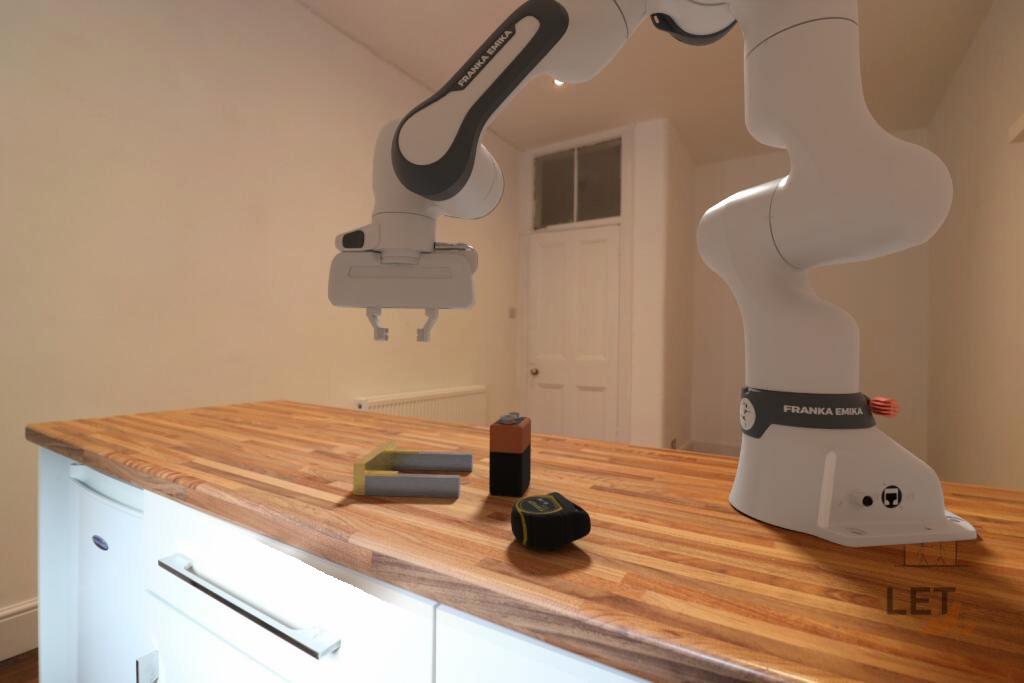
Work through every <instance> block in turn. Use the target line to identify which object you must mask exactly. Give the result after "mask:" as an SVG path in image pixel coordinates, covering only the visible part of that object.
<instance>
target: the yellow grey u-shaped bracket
mask: <svg viewBox="0 0 1024 683" xmlns="http://www.w3.org/2000/svg"><path fill="white" fill-rule="evenodd" d="M401 470H402V471H403V470H404V471H405V470H406V471H434V472H435V471H437V472H438V471H442V472H443V471H445V472H473V470H474V452H451V451H422V449H414V448H413V449H407V448H406V449H403V448H397V441H394V440H393V441H392V440H390V441H389V440H386V441H384V442H383V443H382V444H379V446H377V447H376V448H374V449H373V450H371V451H370V452H368V453H367V454H365V455H364V456H362V457H361V458H359V459H357V461H355V462H353V470H352V471H353V472H352V474H353V478H352V479H353V481H352V482H353V484H352V486H353V487H352V491H353V492H352V494H353V496H376V497H377V496H378V497H379V496H381V497H407V498H409V497H411V498H412V497H416V498H443V499H444V498H447V499H448V498H449V499H459V497H460V496H461V475H460V474H433V473H431V474H430V473H429V474H425V473H423V474H422V473H400V472H399V471H401Z"/></svg>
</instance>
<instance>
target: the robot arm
mask: <svg viewBox="0 0 1024 683" xmlns="http://www.w3.org/2000/svg"><path fill="white" fill-rule="evenodd" d="M649 16H650V19H651V22H652V25H653V26H654V27H655V29H657V30H659V31H662V32H665V33H668V34H669V36H671V37H672V38H674V39H675V40H677V41H678V42H680V43H683V44H686V45H689V46H695V47H703V46H708V45H711V44H714V43H716V42H718V41H720V40H721V39H723V38H724V37H725V36H726V35H727V34H728V33H729V32H730V31H731V30H733V28H735V25H736V24H738V26H739V27H740V29H741V34H742V38H743V40H744V42H743V43H744V45H743V82H744V85H743V87H744V88H743V90H744V124H745V127H746V130H747V131H748V133H749V134H750V136H752V138H753V139H754V140H755V141H757V142H759V144H762V145H765V146H768V147H771V148H777V149H783V150H787V153H788V155H789V160H790V171H789V174H787V175H786V176H782V177H780V178H777V179H774V180H771V181H767V182H764V183H761V184H759V185H755V186H752V187H749V188H747V189H743V190H740V191H737V192H735V193H734V194H732V195H730V196H728V197H727V198H725V199H723V200H722V201H720V202H719V203H717V204H715V205H713V206H712V207H710V208H708V209H707V210H706V211H705V212H704V214H702V217H701V219H700V221H699V223H698V226H697V232H696V245H697V250H698V253H699V255H700V257H701V259H702V261H703V263H704V264H705V265H706V266H707V267H708V269H710V270H711V271H713V273H715V274H717V275H718V276H719V277H720V278H721V279H722V280H724V282H725V283H726V284H727V286H728V288H729V289H730V291H731V293H732V295H733V297H734V298H735V302H737V305H738V309H739V313H740V315H741V320H742V325H743V332H744V333H743V336H744V356H745V358H744V359H745V360H744V361H745V362H744V364H745V365H744V366H745V382H744V383H745V384H744V385H742V387H741V392H740V406H739V419H740V431H741V433H742V436H741V437H742V438H741V445H740V446H741V447H740V453H739V454H740V455H739V459H738V463H737V464H738V465H737V470H736V473H735V478H734V481H733V485H732V487H731V491H730V492H729V496H728V501H729V503H730V504H731V505H732V506H733V507H734V508H736V510H738V511H740V512H741V513H743V514H746V515H747V516H749V517H752V518H754V519H756V520H759V521H761V522H764V523H767V524H770V525H773V526H776V527H780V528H782V529H783V528H784V529H787V530H791V531H796V532H799V533H804V534H808V535H811V536H815V537H818V538H820V539H824V540H825V541H829V542H831V543H835V544H838V545H841V546H845V547H849V548H863V547H864V548H866V547H877V546H879V547H881V546H893V545H909V544H910V545H911V544H922V543H923V544H926V543H940V542H954V541H955V542H956V541H969V540H976V539H978V536H977V530H976V529H975V527H974V525H972V524H971V523H970V522H969V521H967V520H966V519H964V518H962V517H960V516H958V515H957V514H954V513H953V512H951V511H949V510H947V509H946V508H945V500H944V492H943V488H942V484H941V481H940V479H939V477H938V475H937V473H936V471H935V470H934V469H933V468H932V467H931V466H929V464H927V463H926V462H925V461H923V460H922V459H920V458H919V457H917V456H916V455H915V454H914V453H912V452H911V451H909V450H908V449H906V448H905V447H903V446H902V445H901V444H900V443H898V442H897V441H895V440H894V439H892V438H891V437H890V436H889V435H887V434H886V433H885V432H883V431H882V430H881V429H879V428H878V427H877V422H876V419H875V417H874V415H876V416H882V417H885V418H887V419H893V418H896V417H898V414H901V411H900V410H901V409H902V407H900V406H901V403H897V402H899V401H898V400H897V399H894V398H885V397H882V396H876V397H873V398H870V397H868V396H867V395H866V394H864V393H862V392H861V391H860V346H861V345H860V338H861V337H860V334H861V331H860V328H859V326H858V323H857V322H856V320H855V319H854V318H853V316H852V315H851V313H849V312H848V311H847V310H845V309H843V308H841V307H840V306H838V305H836V304H835V303H831V302H830V301H827V300H824V299H822V298H819V296H818V295H817V294H816V293H815V291H814V290H813V287H812V284H811V282H810V274H809V272H810V271H809V270H810V269H813V268H820V267H829V266H834V265H843V264H849V263H850V264H851V263H857V262H865V261H871V260H874V259H878V258H881V257H885V256H888V255H892V254H896V253H898V252H901V251H905V250H907V249H910V248H913V247H916V246H919V245H922V244H924V243H926V242H928V241H929V240H930V239H931V238H932V237H933V236H934V235H935V234H936V233H937V232H938V230H940V228H941V227H942V226H943V224H944V222H945V221H946V219H947V217H948V215H949V212H950V211H951V207H952V203H953V196H954V184H953V179H952V177H951V173H950V171H949V169H948V168H947V166H946V164H945V163H944V162H943V160H942V159H941V158H940V157H939V156H938V155H937V154H936V153H934V152H932V151H931V150H929V149H928V148H926V147H924V146H921V145H920V144H915V143H913V142H910V141H906V140H903V139H901V138H898V137H896V136H894V135H892V134H891V133H889V132H888V131H886V130H884V128H883V127H882V126H880V124H879V123H877V120H876V119H874V117H873V116H872V113H871V112H870V111H869V109H868V105H867V104H866V101H865V97H864V92H863V90H864V89H863V82H862V81H863V80H862V74H861V61H860V58H861V56H860V27H859V26H860V25H859V8H858V0H527V1H525V2H523V3H522V4H521V5H519V6H518V7H517V8H516V9H515V10H514V11H513V12H512V13H511V14H510V15H508V16H507V17H506V18H505V19H504V20H503V21H502V22H501V23H500V24H499V26H498V27H496V29H494V31H493V32H492V33H491V34H490V35H489V36H488V38H486V39H485V41H484V42H483V43H482V44H481V45H480V46H479V47H478V48H477V49H476V50H475V51H474V53H473V54H471V56H470V57H469V58H467V60H466V61H465V62H464V63H463V64H462V66H460V68H459V69H458V70H457V71H456V72H455V73H454V74H453V75H452V76H451V78H450V79H449V80H447V82H446V83H445V84H444V85H443V86H442V87H441V88H440V89H438V90H437V91H436V92H435V93H434V94H432V95H431V96H430V97H428V98H426V99H425V100H424V101H422V102H420V103H419V104H418V105H416V106H415V107H414V108H412V109H411V110H410V111H409V112H407V113H406V115H404V117H400V118H399V117H398V118H396V119H392V120H390V121H388V122H386V123H385V124H384V125H382V127H381V129H380V130H379V133H378V135H377V137H376V140H375V143H374V144H375V146H374V151H373V159H372V160H373V161H372V173H371V174H372V178H371V179H372V180H371V183H372V184H371V186H372V191H373V194H374V196H373V197H374V206H373V209H372V213H371V223H369V224H365V225H363V226H360V227H357V228H355V229H351V230H348V231H345V232H342V233H339V234H337V235H336V236H335V238H334V239H335V240H334V245H335V249H337V250H338V251H339V253H337V254H335V255H334V257H333V258H332V260H331V263H330V268H329V273H328V274H329V275H328V283H327V297H328V300H329V302H330V303H331V305H332V306H334V307H337V308H342V309H343V308H346V309H347V308H349V309H351V308H352V309H353V308H355V309H366V311H365V313H366V314H365V315H366V318H367V319H368V321H369V323H370V325H371V326H372V328H373V339H374V341H377V342H379V341H380V342H381V341H382V342H387V341H388V340H389V327H383V325H382V323H381V320H380V318H379V317H381V316H382V309H401V310H402V309H406V310H407V309H414V310H415V309H416V310H417V309H419V310H424V312H425V313H424V315H425V317H428V318H427V320H426V322H425V323H424V326H423V327H422V328H416V334H417V336H416V342H430V341H431V329H433V327H434V326H435V323H436V322H437V320H438V319H439V312H440V310H471V309H472V308H473V307H474V306H475V304H476V303H477V302H476V300H477V299H476V298H477V296H476V295H477V294H476V284H475V282H476V281H475V276H474V274H475V273H476V272H477V270H478V265H479V263H478V262H479V261H478V260H479V255H478V253H477V250H476V249H475V248H474V247H472V246H470V245H468V243H467V242H466V243H465V242H455V243H454V242H441V241H440V242H439V241H438V242H437V222H438V221H437V220H438V218H439V217H440V216H444V217H449V218H454V219H455V218H456V219H462V220H478V219H483V218H484V217H486V216H489V214H491V213H492V212H493V211H494V210H495V209H496V208H497V207H498V205H499V204H500V202H501V200H502V198H503V195H504V191H505V177H504V173H503V171H502V169H501V167H500V165H499V164H498V163H497V161H496V159H495V158H494V156H492V154H491V153H490V152H489V150H488V149H487V148H486V146H484V144H483V138H484V134H485V132H486V130H487V129H488V127H489V126H490V125H491V124H492V122H494V120H496V118H497V117H498V116H499V115H500V114H501V113H502V112H503V110H505V108H507V106H508V105H509V104H510V103H511V102H512V101H513V100H514V98H515V97H517V95H518V94H519V93H520V91H522V90H523V89H524V88H525V86H526V85H527V84H529V83H530V82H531V81H532V80H533V79H535V78H537V77H540V76H543V75H548V76H550V77H551V78H553V79H554V80H556V81H558V82H560V83H563V84H569V85H570V84H572V85H573V84H574V85H576V84H584V83H586V82H589V81H592V79H594V78H595V77H596V76H597V75H598V74H599V73H601V72H602V71H603V70H604V69H605V68H606V67H607V66H608V65H609V64H610V63H611V62H612V61H613V59H614V58H615V57H616V56H617V55H618V53H619V52H620V51H621V49H623V47H624V46H625V45H626V43H627V42H628V40H630V38H631V36H632V35H633V34H634V33H635V31H636V30H637V29H638V27H640V25H641V24H643V22H644V21H645V20H646V19H647V18H648V17H649ZM655 17H656V18H657V21H658V22H657V21H656V19H655ZM468 249H469V250H468Z"/></svg>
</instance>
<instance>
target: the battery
mask: <svg viewBox="0 0 1024 683" xmlns="http://www.w3.org/2000/svg"><path fill="white" fill-rule="evenodd" d="M520 414H521V413H520V412H518V411H512V412H511V411H509V412H508V414H503V415H500V418H499V419H497V420H496V421H494V422H493V423H491V424H490V426H489V456H488V457H489V462H488V463H489V464H488V465H489V466H488V469H489V471H488V472H489V478H488V480H489V484H488V485H489V487H488V488H489V490H488V492H489V494H490V495H491V496H501V497H502V496H503V497H513V498H521V497H522V496H523V494H524V492H525V491H526V489H527V487H528V486H529V484H530V482H531V474H532V473H531V469H532V468H531V465H532V464H531V463H532V462H531V460H532V459H531V455H532V447H531V446H532V420H531V418H530V417H527V416H521V415H520Z"/></svg>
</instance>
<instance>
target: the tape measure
mask: <svg viewBox="0 0 1024 683" xmlns="http://www.w3.org/2000/svg"><path fill="white" fill-rule="evenodd" d="M591 522H592V521H591V516H590V514H589V512H587V511H586V510H585V509H584V508H583V507H581V506H580V505H579V504H576V503H575V502H573V501H571V500H570V499H568V498H566V497H565V496H564V495H562V494H561V493H560V492H556V491H552V492H549V493H547V494H535V495H530V496H526V497H523V498H521V499H519V500H518V501H516V502H515V503H514V504H513V506H512V510H511V512H510V527H511V532H512V534H513V536H514V538H515V540H516V541H517V542H518V543H520V544H521V545H523V546H525V547H527V548H529V549H536V550H552V549H553V550H554V549H559V548H563V547H564V546H567V545H569V544H571V543H573V542H576V541H579V540H581V539H583V538H585V537H586V536H588V535H589V534H590V533H591V530H592V523H591Z"/></svg>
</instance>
